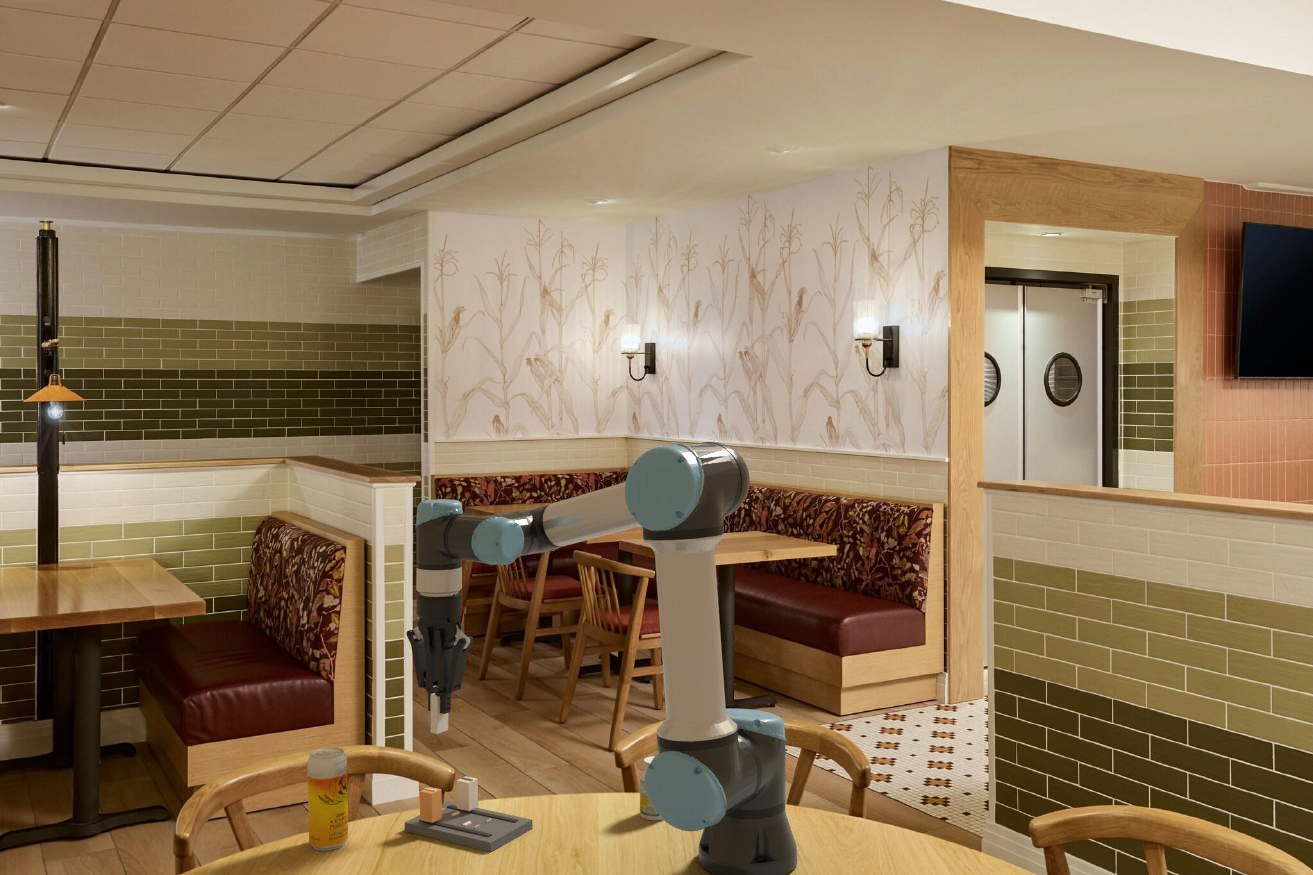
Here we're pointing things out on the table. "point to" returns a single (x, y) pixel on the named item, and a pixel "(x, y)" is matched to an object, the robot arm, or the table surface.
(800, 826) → the table surface
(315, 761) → the beer can
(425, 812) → the orange fader
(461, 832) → the console
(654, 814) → the supplement bottle
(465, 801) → the cream fader
